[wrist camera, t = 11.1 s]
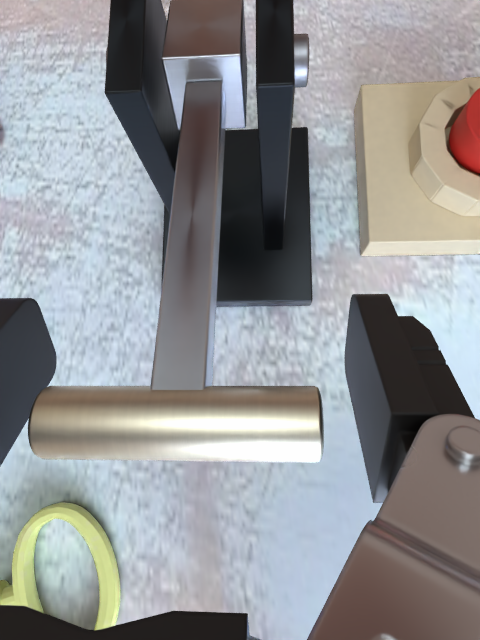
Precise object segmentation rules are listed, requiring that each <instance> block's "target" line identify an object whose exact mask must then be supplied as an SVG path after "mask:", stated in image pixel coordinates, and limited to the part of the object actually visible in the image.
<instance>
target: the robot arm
mask: <svg viewBox="0 0 480 640" xmlns="http://www.w3.org/2000/svg"><path fill="white" fill-rule="evenodd" d="M55 369H56V352H55V349H54V346H53V343H52V340H51V338H50V335H49V332H48V329H47V326H46V324H45V321H44V318H43V315H42V313H41V310H40V307H39V305H38V303H37V302H36V301H35V300H34V299H32V298H1V299H0V466H1V464H2V463H3V461H4V459H5V458H6V456H7V454H8V452H9V451H10V449H11V447H12V446H13V444H14V442H15V441H16V439H17V437H18V435H19V434H20V432H21V430H22V429H23V427H24V425H25V424H26V422H27V420H28V418H29V415H30V411H31V408H32V405H33V402H34V400H35V398H36V396H37V395H38V394H39V393H40V391H42V390H43V389H44V388H46V387H47V386H48V384H49V383H50V381H51V379H52V378H53V376H54V373H55ZM345 372H346V379H347V383H348V388H349V392H350V397H351V402H352V406H353V411H354V415H355V420H356V425H357V429H358V434H359V439H360V443H361V448H362V452H363V457H364V462H365V466H366V471H367V475H368V480H369V485H370V489H371V494H372V499H373V503H383V504H382V506H381V508H380V511H379V513H378V514H377V516H376V518H375V520H374V521H371V520H370V521H369V522H368V523H367V524H366V525H365V527H364V529H363V530H362V532H361V534H360V536H359V538H358V539H357V541H356V543H355V545H354V547H353V549H352V551H351V553H350V555H349V557H348V559H347V561H346V563H345V565H344V567H343V569H342V571H341V573H340V575H339V577H338V579H337V581H336V583H335V585H334V587H333V589H332V591H331V593H330V595H329V597H328V599H327V601H326V603H325V605H324V607H323V609H322V611H321V613H320V615H319V617H318V619H317V621H316V623H315V625H314V627H313V629H312V631H311V633H310V635H309V637H308V639H307V640H480V420H478V419H475V417H474V415H473V413H472V411H471V409H470V407H469V406H468V404H467V402H466V400H465V398H464V396H463V394H462V392H461V390H460V388H459V386H458V384H457V382H456V380H455V378H454V376H453V374H452V372H451V370H450V368H449V366H448V365H446V361H445V359H444V357H443V355H442V353H441V351H440V350H438V345H437V343H436V341H435V339H434V337H433V335H432V333H431V331H430V330H429V329H428V328H427V327H425V326H424V325H423V324H422V323H420V322H419V321H418V320H417V319H416V318H414V317H413V316H398V315H397V313H396V311H395V308H394V306H393V304H392V301H391V299H390V297H389V295H388V294H353V295H352V297H351V302H350V309H349V319H348V328H347V337H346V346H345ZM0 640H260V639H257V638H255V637H252V636H250V635H249V625H248V614H246V613H217V612H188V611H171V612H167V613H163V614H159V615H156V616H152V617H148V618H144V619H140V620H136V621H132V622H128V623H124V624H120V625H116V626H112V627H108V628H104V629H100V630H87V629H84V628H81V627H78V626H76V625H73V624H71V623H68V622H65V621H63V620H60V619H58V618H55V617H52V616H50V615H47V614H45V613H42V612H40V611H37V610H34V609H32V608H29V607H27V606H15V605H0Z"/></svg>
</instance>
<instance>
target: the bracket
mask: <svg viewBox="0 0 480 640" xmlns="http://www.w3.org/2000/svg"><path fill="white" fill-rule="evenodd" d="M166 26H167V20H166V17H165V13H164V9H163V6H162V2H161V0H111V5H110V20H109V36H108V47H107V51H106V81H105V94H106V96H107V98H108V100H109V102H110V104H111V106H112V107H113V109H114V111H115V113H116V115H117V117H118V119H119V120H120V122H121V124H122V126H123V128H124V130H125V132H126V133H127V135H128V137H129V139H130V141H131V143H132V145H133V146H134V148H135V150H136V152H137V154H138V156H139V158H140V159H141V161H142V163H143V165H144V167H145V169H146V171H147V172H148V174H149V176H150V178H151V180H152V182H153V184H154V185H155V187H156V189H157V191H158V193H159V195H160V197H161V198H162V200H163V202H164V204H165V205H164V232H163V260H162V283H163V274H164V266H165V257H166V248H167V240H168V231H169V222H170V214H171V205H172V196H173V188H174V179H175V170H176V162H177V153H178V144H179V136H180V130H178V129H177V126H176V122H175V117H174V113H173V109H172V104H171V100H170V96H169V91H168V87H167V83H166V78H165V74H164V70H163V65H162V61H161V57H162V51H163V45H164V38H165V32H166ZM308 71H309V37H308V34H294V13H293V0H256V93H257V114H258V129H249V130H225V145H224V164H223V184H222V203H221V222H220V242H219V261H218V280H217V299H216V307H222V306H309V305H310V304H311V302H312V270H311V233H310V195H309V158H308V128H307V127H301V128H292V118H293V104H294V91H295V87H306V86H307V82H308ZM161 292H162V287H161Z"/></svg>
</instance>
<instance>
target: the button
mask: <svg viewBox="0 0 480 640" xmlns="http://www.w3.org/2000/svg"><path fill="white" fill-rule="evenodd" d="M449 144H450V149H451V151H452V154H453V156H454V157H455V159H456V160H457V161H458V162H459V163H460V164H461V165H462V166H463V167H465V168H466V169H468V170H470V171H472V172H475V173H478V174H480V88H479V89H478V90H476V91H475V92H474V94H473V95H472V96H471V98H470V99H469V101H468V102H467V104H466V105H465V107H464V108H463V110H462V111H461V113H460V114H459V116H458V117H457V119H456V120H455V122H454V124H453V125H452V127H451V130H450V134H449Z"/></svg>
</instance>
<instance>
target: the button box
mask: <svg viewBox="0 0 480 640" xmlns="http://www.w3.org/2000/svg"><path fill="white" fill-rule="evenodd" d="M479 88H480V77H471V78H464V79H462V80H460V81H438V82H416V83H393V84H370V85H361V87H360V91H359V94H358V98H357V102H356V105H355V109H354V124H355V145H356V166H357V187H358V208H359V229H360V249H361V256H408V255H462V254H480V174H478V173H475V172H472V171H470V170H468V169H466V168H465V167H463V166H462V165H461V164H460V163H459V162H458V161H457V160H456V159H455V157H454V156H453V154H452V151H451V149H450V144H449V134H450V130H451V127H452V125H453V124H454V122H455V120H456V119H457V117H458V116H459V114H460V113H461V111H462V110H463V108H464V107H465V105H466V104H467V102H468V101H469V99H470V98H471V96H472V95H473V94H474V92H475V91H476V90H478V89H479Z"/></svg>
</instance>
